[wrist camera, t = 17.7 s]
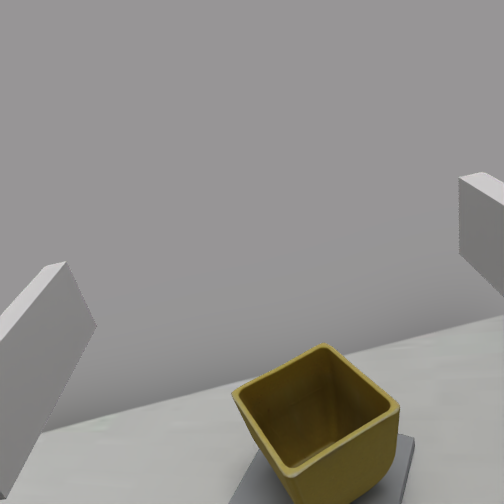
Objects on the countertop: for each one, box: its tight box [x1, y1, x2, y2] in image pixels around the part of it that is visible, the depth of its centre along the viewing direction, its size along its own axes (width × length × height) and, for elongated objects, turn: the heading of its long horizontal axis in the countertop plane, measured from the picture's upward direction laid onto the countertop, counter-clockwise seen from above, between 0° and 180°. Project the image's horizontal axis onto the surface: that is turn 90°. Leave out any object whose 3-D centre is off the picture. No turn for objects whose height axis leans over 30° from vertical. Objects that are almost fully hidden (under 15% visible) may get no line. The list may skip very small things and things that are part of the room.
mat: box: [229, 434, 415, 504], centre depth 34 cm, size 12×12×1 cm
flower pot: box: [231, 343, 400, 504], centre depth 32 cm, size 9×9×9 cm
